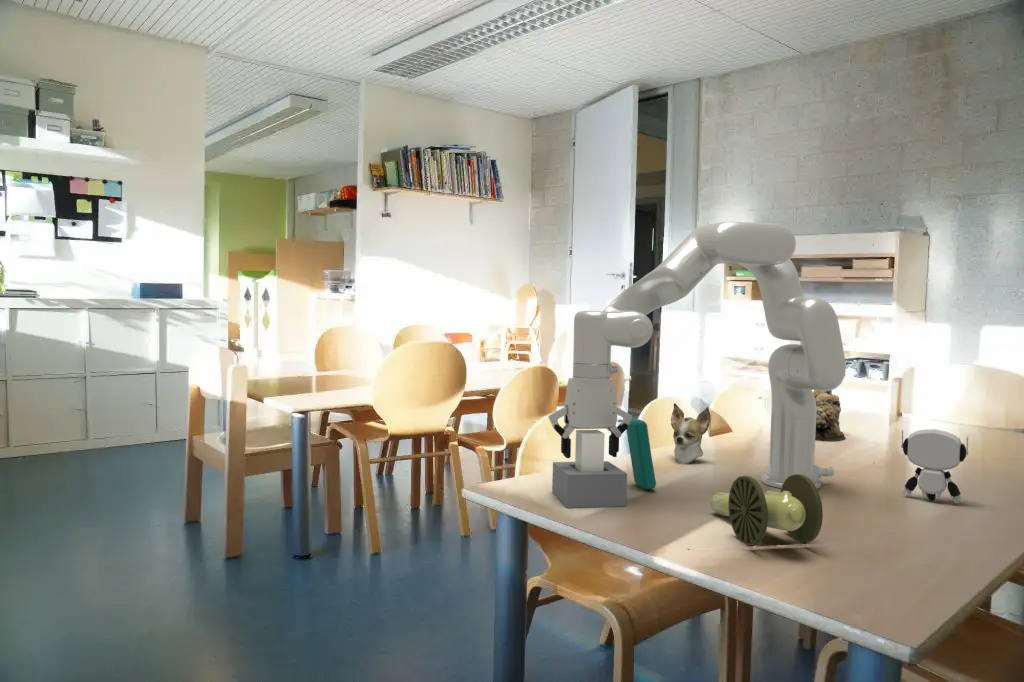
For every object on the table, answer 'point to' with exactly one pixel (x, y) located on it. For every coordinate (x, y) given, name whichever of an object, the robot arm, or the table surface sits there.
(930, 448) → the robot toy
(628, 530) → the table surface
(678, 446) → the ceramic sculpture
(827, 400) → the brown rough lump
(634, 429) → the digital multimeter
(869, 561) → the table surface
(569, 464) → the socket
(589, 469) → the plug
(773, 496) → the cannon
